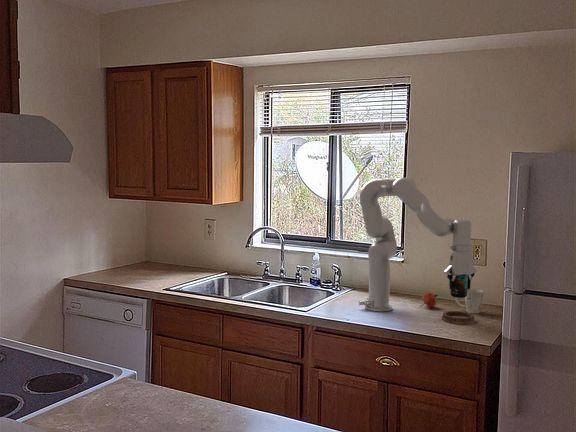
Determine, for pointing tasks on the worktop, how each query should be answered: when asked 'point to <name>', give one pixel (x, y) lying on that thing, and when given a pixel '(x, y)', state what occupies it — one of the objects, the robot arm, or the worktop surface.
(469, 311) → the mug
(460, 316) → the tray
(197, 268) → the worktop surface
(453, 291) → the beverage can
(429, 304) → the pomegranate
